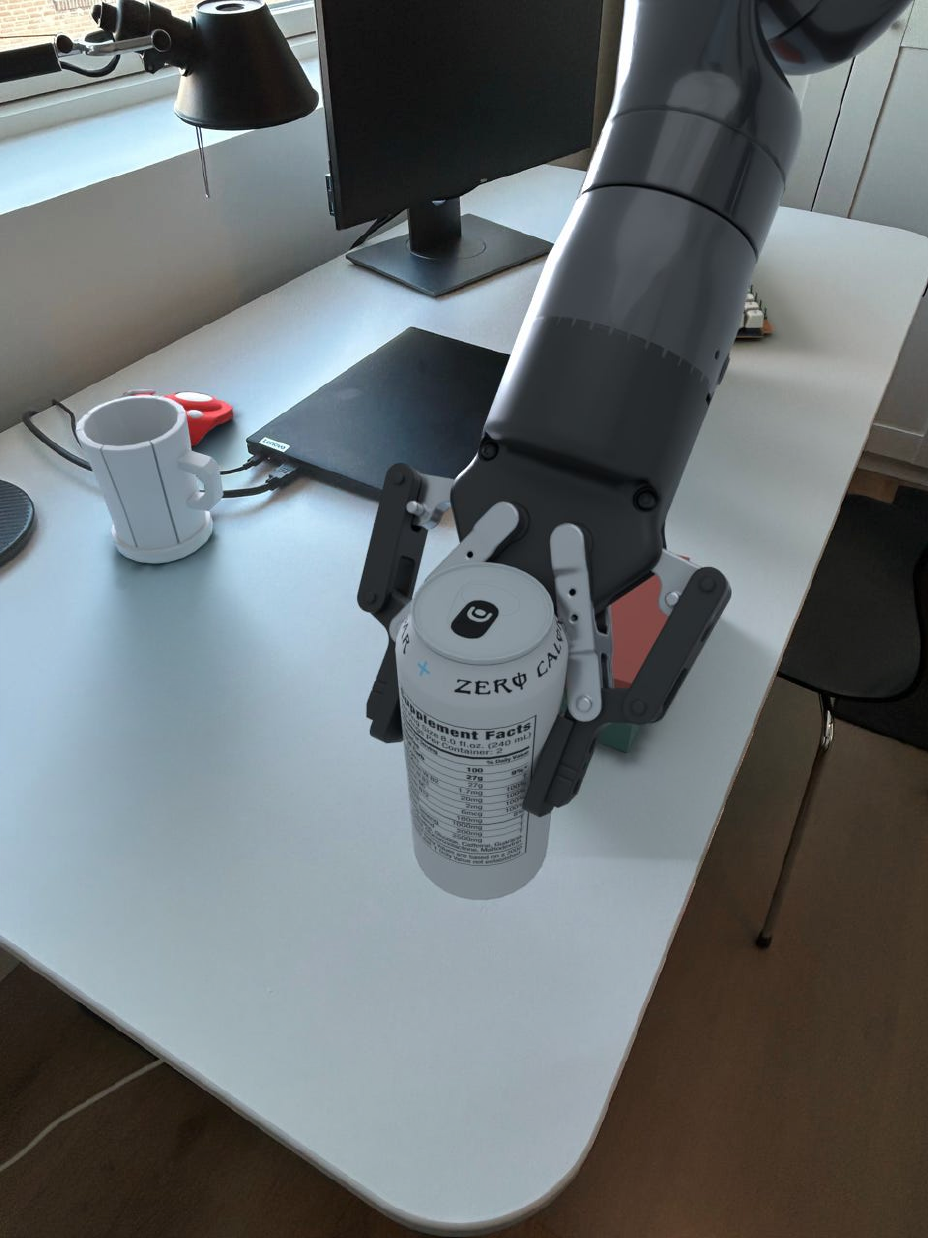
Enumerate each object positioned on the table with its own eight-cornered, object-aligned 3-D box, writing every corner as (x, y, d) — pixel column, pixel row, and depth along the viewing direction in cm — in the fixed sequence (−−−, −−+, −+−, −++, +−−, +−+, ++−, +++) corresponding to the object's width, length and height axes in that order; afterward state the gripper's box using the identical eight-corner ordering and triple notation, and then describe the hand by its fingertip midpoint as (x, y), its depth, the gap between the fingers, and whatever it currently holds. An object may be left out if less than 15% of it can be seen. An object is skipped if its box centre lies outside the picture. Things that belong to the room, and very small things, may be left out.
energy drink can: (568, 827, 41) (600, 584, 30) (509, 935, 37) (522, 701, 26) (455, 775, 43) (448, 532, 32) (388, 873, 39) (356, 633, 29)
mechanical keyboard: (589, 232, 135) (591, 209, 133) (712, 232, 136) (716, 209, 133) (624, 346, 108) (627, 320, 106) (777, 346, 108) (784, 320, 106)
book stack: (558, 557, 78) (562, 506, 75) (700, 602, 74) (712, 551, 70) (465, 690, 67) (464, 639, 63) (626, 753, 62) (637, 702, 59)
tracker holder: (231, 387, 98) (237, 411, 90) (229, 426, 100) (235, 453, 92) (114, 377, 94) (109, 401, 86) (115, 417, 96) (110, 445, 88)
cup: (225, 496, 85) (199, 383, 77) (239, 552, 79) (212, 436, 71) (112, 517, 83) (73, 403, 75) (118, 577, 77) (76, 460, 68)
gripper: (413, 270, 32) (255, 702, 33) (815, 365, 26) (614, 879, 27) (484, 348, 39) (352, 702, 39) (813, 435, 33) (653, 843, 34)
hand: (460, 772), depth 33 cm, fingers closed on energy drink can, 6 cm apart
